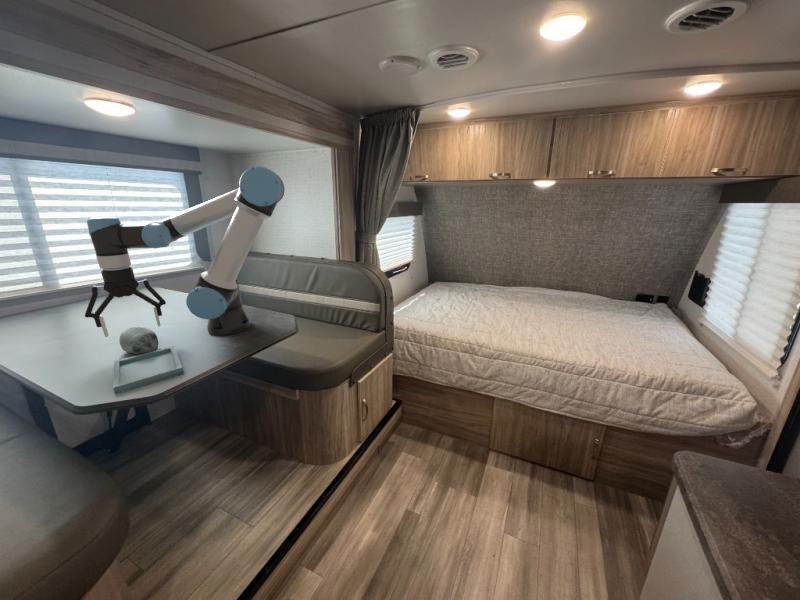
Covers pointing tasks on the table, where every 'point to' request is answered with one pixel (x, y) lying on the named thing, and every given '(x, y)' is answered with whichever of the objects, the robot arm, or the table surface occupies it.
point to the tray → (146, 369)
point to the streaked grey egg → (138, 340)
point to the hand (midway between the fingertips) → (134, 330)
